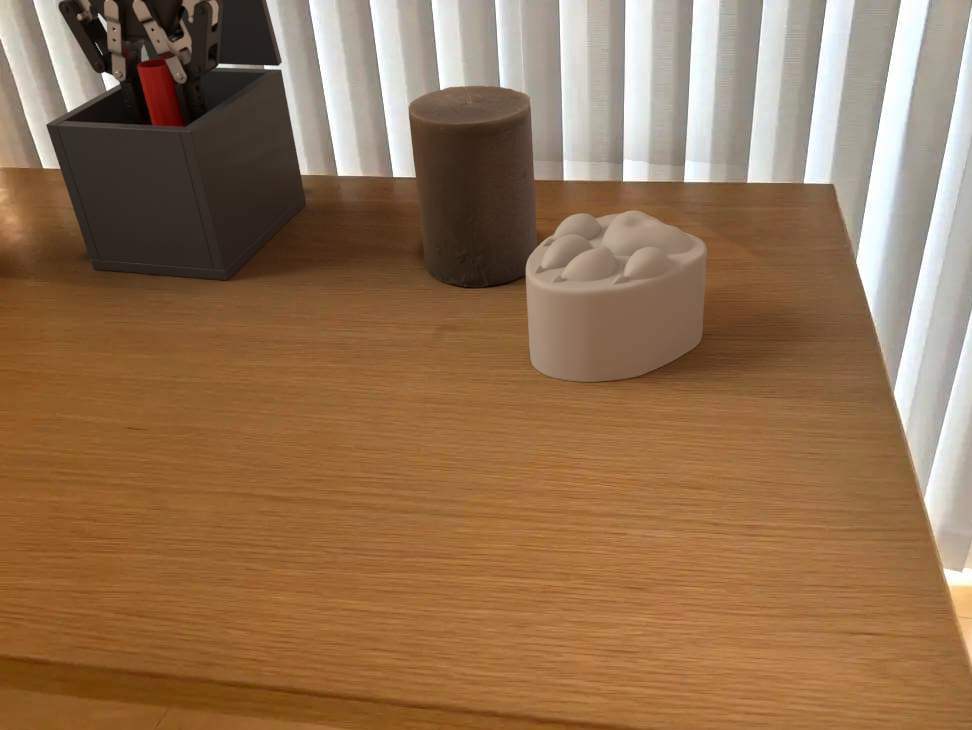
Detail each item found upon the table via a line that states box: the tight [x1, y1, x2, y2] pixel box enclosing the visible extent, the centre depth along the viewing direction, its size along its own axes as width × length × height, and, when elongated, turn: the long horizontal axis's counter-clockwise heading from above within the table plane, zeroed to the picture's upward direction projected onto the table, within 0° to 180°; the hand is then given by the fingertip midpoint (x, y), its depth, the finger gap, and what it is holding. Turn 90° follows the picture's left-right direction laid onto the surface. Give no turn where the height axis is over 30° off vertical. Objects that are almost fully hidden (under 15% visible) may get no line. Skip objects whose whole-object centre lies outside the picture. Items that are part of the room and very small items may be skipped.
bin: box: [45, 66, 307, 282], centre depth 89 cm, size 16×13×13 cm
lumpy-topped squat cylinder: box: [525, 210, 708, 383], centre depth 72 cm, size 10×13×9 cm
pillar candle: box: [408, 85, 539, 288], centre depth 82 cm, size 10×10×15 cm
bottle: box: [137, 58, 186, 127], centre depth 87 cm, size 6×6×15 cm
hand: (170, 122), depth 86 cm, fingers open, 4 cm apart
